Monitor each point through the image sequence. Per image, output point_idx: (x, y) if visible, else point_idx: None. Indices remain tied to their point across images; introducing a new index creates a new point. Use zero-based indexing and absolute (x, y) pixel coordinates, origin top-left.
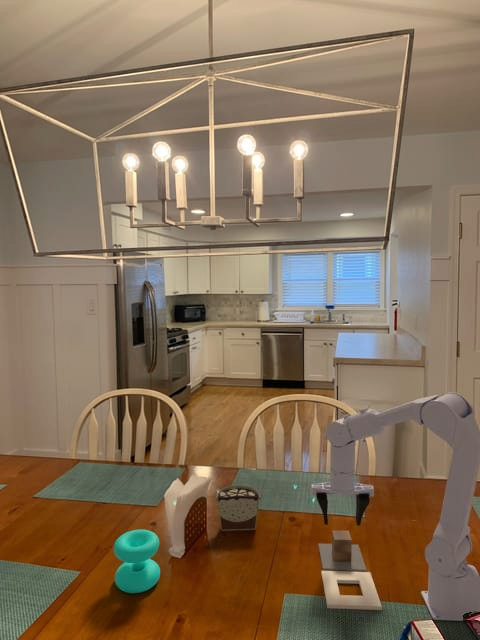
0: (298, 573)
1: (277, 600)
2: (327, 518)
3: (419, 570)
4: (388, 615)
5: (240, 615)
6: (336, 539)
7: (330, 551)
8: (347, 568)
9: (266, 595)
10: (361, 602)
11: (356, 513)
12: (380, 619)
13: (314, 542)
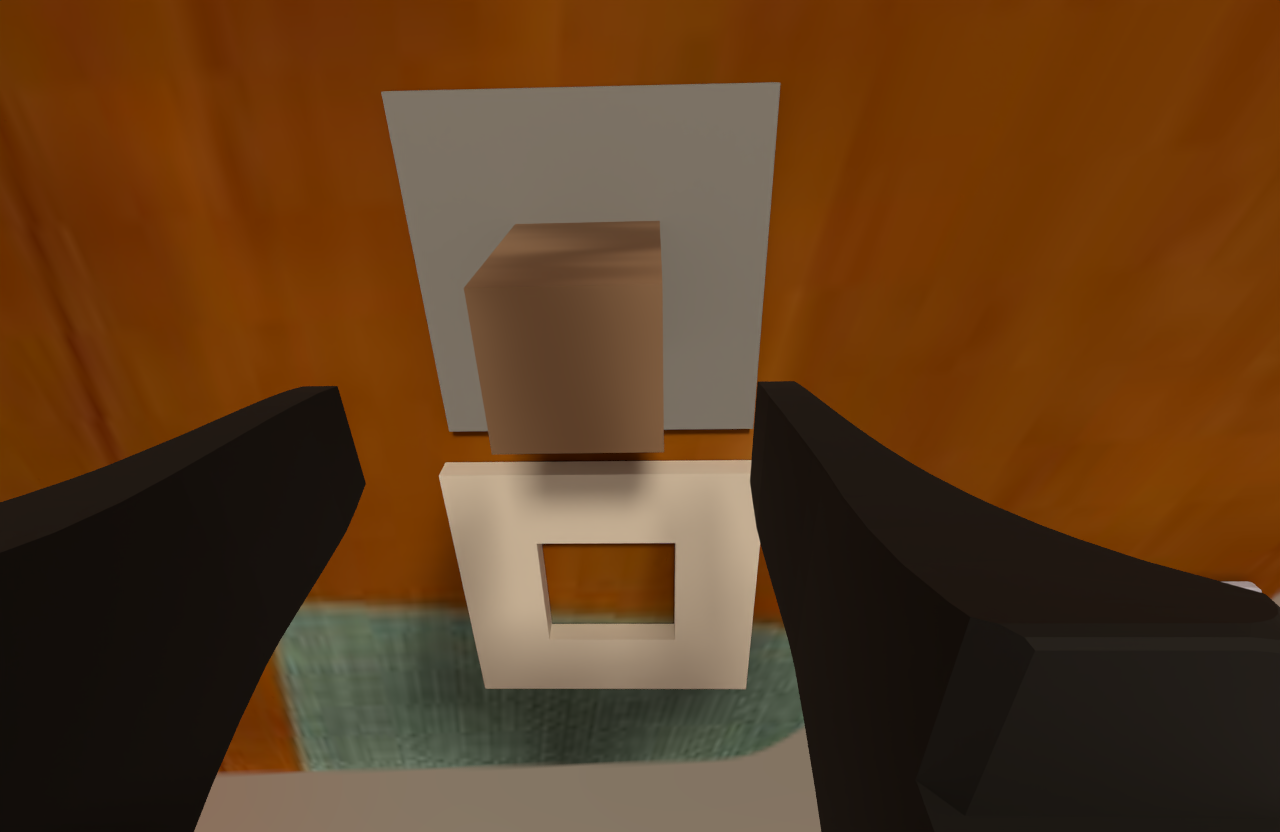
0: None
1: None
2: (321, 569)
3: (1138, 392)
4: (765, 692)
5: None
6: (510, 452)
7: (501, 224)
8: None
9: None
10: (652, 674)
11: (785, 461)
12: (721, 709)
13: (343, 40)
